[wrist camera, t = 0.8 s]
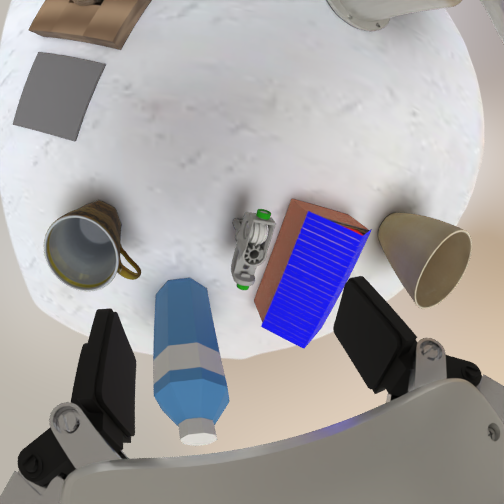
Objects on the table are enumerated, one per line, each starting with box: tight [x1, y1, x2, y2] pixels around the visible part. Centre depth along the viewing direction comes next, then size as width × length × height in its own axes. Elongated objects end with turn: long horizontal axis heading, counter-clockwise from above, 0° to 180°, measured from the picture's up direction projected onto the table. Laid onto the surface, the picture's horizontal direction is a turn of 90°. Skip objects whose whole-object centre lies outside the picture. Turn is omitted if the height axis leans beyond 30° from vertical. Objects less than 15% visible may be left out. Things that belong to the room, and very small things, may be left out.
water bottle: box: [153, 278, 229, 446], centre depth 34 cm, size 9×9×25 cm
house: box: [254, 199, 372, 348], centre depth 42 cm, size 12×20×12 cm, turn 163°
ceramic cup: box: [44, 200, 141, 291], centre depth 31 cm, size 13×10×10 cm
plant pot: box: [378, 213, 472, 309], centre depth 42 cm, size 15×15×16 cm
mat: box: [13, 52, 106, 141], centre depth 24 cm, size 11×12×1 cm
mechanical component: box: [231, 209, 276, 290], centre depth 36 cm, size 3×10×10 cm, turn 165°
